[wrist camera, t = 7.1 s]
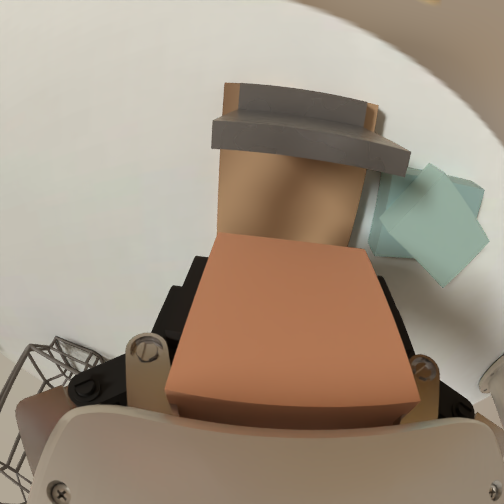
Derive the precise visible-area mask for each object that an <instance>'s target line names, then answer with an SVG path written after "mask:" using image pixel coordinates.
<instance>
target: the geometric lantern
mask: <svg viewBox="0 0 504 504" xmlns="http://www.w3.org/2000/svg"><path fill="white" fill-rule="evenodd" d="M56 340H59V341H62V342H64V343H67V344H69V345H72V346H74V347H77V348H79V349H82V350H84V351H87V352H90V354H89V356H88V358H87V360H86V361H85V362H83V361H80V360H78V359H76V358H74V357H72V356H69V355H67V354H65V353H63V352H61V350H60V348H59V346H58V344H57V342H56ZM54 343H55V345H56V347H57V349H58V350H57V349H55V348H53V345H54ZM36 347H41V348H36ZM50 349H52V350H54V351H56V352H58V353H60V355H61V357H62V359H63V361H64V362H65V364H64V363H62V362H60V361H59V360H57V359H55V358H54V356H53V355H52V353H51V351H50ZM44 350H47V351H48V352H49V354H50V355H48V354H46V353H45V352H43V351H44ZM30 351H36V352H37V353H39V354H41V355H42V356H44V357H45V358H47V359H49V360H51V361H52V362H54V363H55V364H56V365H57V367H58V368H59V370H60V371H61V373H62V374H60V375H57V376H55V377H53V378H50V379H48V380H46V379H45V377H44V376H43V374H42V372H41V371H40V369H39V368H38V366H37V364H36V363H35V361H34V359H33V358H32V356H31V354H30V353H29V352H30ZM93 354H94V355H95V356H97V357H99V358H96V360H95V362H94V364H93V366H91V365H90V364H88V362H89V360H90V358H91V357H92V355H93ZM63 355H64V356H66V357H68V358H70V359H72V360H74V361H76V362H79V363H81V364H83V365H85V369H84V371H85V370H87V369H88V367H89V368H93V367H95V366H96V364H97V362H98V360H99V359H100V362H101V364H102V363H103V360H102V358H101V356H100V355H99V354H97V353H96V352H94V351H93V350H89V349H87V348H84V347H81V346H79V345H76V344H74V343H71V342H68V341H66V340H64V339H61V338H59V337H57V336H55V338H54V340H53V341H52V343H51V344H50V346H47V345H38V344H29V345H28V346H27V347H26V348H25V350H24V352H23V353H22V355H21V357H20V358H19V360H18V362H17V364H16V365H15V367H14V369H13V371H12V373H11V374H10V376H9V378H8V380H7V382H6V384H5V385H4V388H3V389H2V392H1V394H0V412H1V409H2V407H3V405H4V402H5V400H6V398H7V396H8V394H9V392H10V389H11V387H12V385H13V383H14V381H15V379H16V377H17V375H18V373H19V371H20V369H21V367H22V365H23V363H24V362H25V360H26V358H27V356H28V357H29V359H30V360H31V362H32V364H33V365H34V367H35V368H36V370H37V372H38V373H39V375H40V376H41V378H42V379H43V381H44V382H43V384H42V386H41V387H40V389H39V391H38V393H37V394H39V393H41V392H42V391H43V389H44V387H45V385H46V384H47V385H48V386H49V387H50V388H51V389H52V388H54V387H53V386H52V385H51V384H50V383H49V381H51V380H54V379H56V378H59V377H61V376H63V375H64V376H65V377H66V379H65V381H64V382H63V384H62V386H63V387H64V385H65V383H66V382H67V380H69V381H71V379H70V378H71V376H72V374H73V373H74V374H76V375H77V374H79V373H81V372H79V371H77V370H75V369H73V368H71V367H70V366H69V365H68V364H67V362H66V360H65V358H64V356H63ZM60 366H61V367H63V368H65V370H64V372H63V371H62V369H61V368H60ZM67 370H68V371H70V372H71V373H70V375H69V377H67V376H66V375H65V373H66V371H67ZM20 438H21V436H20V432H19V434H18V436H17V438H16V441H15V443H14V445H13V448H12V450H11V453H10V456H9V458H8V461H7V464H4V463H2V462H0V464H2V465H4V466H3V467H1V468H0V472H1V473H2V474H3V475H5V476H6V477H7V478H8V479H10V480H11V481H12V482H14V483H15V484H17V485H18V486H19V487H20V489H21V492H22V494H23V497H24V500H25V502H24V503H20V504H27V501H26V498H25V495H24V493H23V490H24V491H26V492H27V493H29V492H30V491H29V490H27V489H26V488H25V487H23V486H22V485H21V484H20V480H19V477H18V475H19V476H20V477H21V478H23V479H24V480H26V481H27V482H29V483H30V484H32V482H30V481H29V480H28V479H26V478H24V477H23V476H22V475H20V474H19V473H18V472H19V470H20V467H21V465H22V463H23V461H24V459H25V456H26V453H25V451H24V453H23V455H22V457H21V459H20V461H19V463H18V465H17V468H16V470H15V469H13V468H12V467H10V466H9V465H10V462H11V460H12V457H13V455H14V452H15V450H16V447H17V445H18V443H19V440H20ZM7 468H8V469H10V470H11V471H13V472H15V473H16V476H17V479H18V482H19V483H18V482H16V481H15V480H14V479H12V478H11V477H10V476H8V475H7V474H6V473H5V472H4V471H3V470H5V469H7ZM22 489H23V490H22ZM0 504H7V503H1V502H0Z"/></svg>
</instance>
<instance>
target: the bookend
mask: <svg viewBox="0 0 504 504" xmlns="http://www.w3.org/2000/svg"><path fill="white" fill-rule="evenodd" d="M366 108H367V102H364V101H360V100H356V99H351V98H347V97H342V96H337V95H332V94H327V93H321V92H315V91H309V90H303V89H296V88H288V87H280V86H271V85H260V84H247V83H240V91H239V103H238V109H237V110H234V111H232V112H230V113H228V114H225V115H223V116H221V117H219V118H217V119H215V120H213V125H212V145H211V149H226V150H238V151H249V152H259V153H269V154H277V155H285V156H293V157H300V158H307V159H314V160H320V161H327V162H333V163H338V164H344V165H349V166H355V167H360V168H365V169H370V170H375V171H379V172H384V173H388V174H393V175H397V176H401V177H405V175H406V171H407V167H408V163H409V159H410V154H411V152H410V151H409V150H407V149H405V148H403V147H401V146H400V145H398V144H396V143H394V142H392V141H390V140H388V139H386V138H384V137H382V136H381V135H379V134H377V133H375V132H372V131H370V130H368V129H366V128H364V121H365V115H366Z"/></svg>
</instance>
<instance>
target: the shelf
mask: <svg viewBox="0 0 504 504" xmlns="http://www.w3.org/2000/svg"><path fill="white" fill-rule="evenodd" d="M239 91H240V83H225V85H224V99H223V113H222V116H223V115H225V114H228V113H230V112H232V111H234V110H237V109H238V103H239ZM378 106H379V105H375V104H371V103H367V108H366V115H365V121H364V128H366V129H368V130H370V131H372V132H374V130H375V124H376V118H377V112H378ZM366 171H367V169H365V168H360V167H355V166H349V165H344V164H338V163H333V162H327V161H320V160H314V159H307V158H300V157H293V156H285V155H277V154H269V153H259V152H249V151H238V150H226V149H220V165H219V187H218V214H217V234H218V232H222V233H231V234H241V235H250V236H259V237H268V238H276V239H285V240H294V241H302V242H310V243H319V244H327V245H335V246H343V247H347V246H348V243H349V239H350V236H351V232H352V228H353V225H354V221H355V217H356V213H357V209H358V205H359V201H360V197H361V193H362V188H363V184H364V180H365V175H366Z"/></svg>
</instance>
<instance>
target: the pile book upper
mask: <svg viewBox="0 0 504 504" xmlns="http://www.w3.org/2000/svg"><path fill="white" fill-rule="evenodd" d="M379 219H380V220H381V222H382V223H383V225H384V226H385V228H386V229H387V231H388V232H389V234H390V235H392V236H393V237H394V238H395V239H396V240H397V241H398V242H399V243H400V244H401V245H402V246H403V247H404V248H405V249H406V250H407V251H408V252H409V253H410V254H411V255H412V256H413V257H414V258H415V259H416V260H417V261H418V262H419V263H420V264H421V265H422V266H423V268H424V269H425V270H426V271H427V272H428V273H429V274H430V275H431V276H432V277H433V278H434V279H435V280H436V281H437V283H438V284H439V285H440V286H441V287H442V288H444V287H445V286H446V285H447V284H448V283H449V282H450V281H451V280H452V279H453V278H454V277H455V276H456V275H458V274H459V273H460V272H461V271H462V270H463V269H464V268H465V267H466V266H467V265H468V264H469V263H470V262H471V261H472V260H473V259H474V257H475V256H476V255H477V254H478V253H479V252H480V251H481V250H482V249H483V248H484V247H485V246H486V245H487V244H488V242H489V239H488V238H487V236H486V234H485V232H484V231H483V229H482V227H481V226H480V224H479V222H478V221H477V219H476V217H475V216H474V214H473V213H472V211H471V209H470V208H469V206H468V205H467V203H466V202H465V200H464V199H463V197H462V196H461V194H460V193H459V192H458V190H457V189H456V187H455V186H454V185H453V183H452V182H451V180H450V179H449V178H448V176H447V175H446V174H445V173H444V172H443V171H441V170H440V169H438V168H437V167H435V166H434V165H432V164H430V163H429V164H428V165H427V166H426V167H425V168H424V170H423V171H422V172H421V173H420V174H419V175H418V176H417V178H416V179H415V180H414V181H413V182H412V183H411V184H410V185H409V186H408V188H407V189H406V190H405V191H404V192H403V193H402V194H401V195H400V196H399V197H398V198H397V199H396V201H395V202H394V203H393V204H392V205H391V206H390V207H389V208H388V209H387V210H386V211H385V212H384V213H383V214H382V215H381V216H380V217H379Z"/></svg>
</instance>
